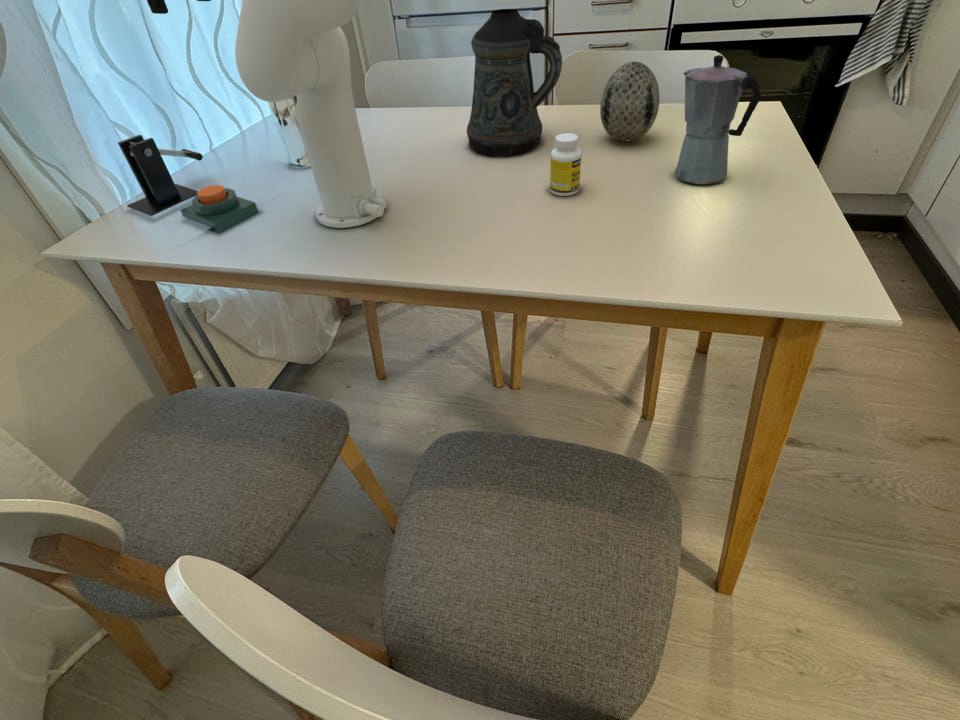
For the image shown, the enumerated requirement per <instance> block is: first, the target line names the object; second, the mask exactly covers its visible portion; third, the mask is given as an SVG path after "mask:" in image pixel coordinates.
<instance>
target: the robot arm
mask: <svg viewBox="0 0 960 720" xmlns="http://www.w3.org/2000/svg"><path fill="white" fill-rule="evenodd" d="M196 1H197V2H211V1H212V0H196ZM146 2H147V5H148V6H149V10H150V12H151V13H152V14H158V15H166V14H168V13H169V9H168V6H167V3H166V0H146ZM361 3H362V0H242V1H241V7H240V12H239V13H240V14H239V18H238V25H237V32H236V38H235V44H234V45H235V47H234V48H235V49H234V57H235V64H236V69H237V72H238V75H239V78H240V80H241V81H242V83H243V85H244V86H245V88H246V89H247V91H249V92H250V94H251V95H253V96H254V97H255V98H257V99H259V100H261V101H263V102H267V103H268V102H279V101H283V100H286V99H289V98H291V97H294V96H296V95H297V117H298V122H299V126H300V130H301V134H302V137H303V141H304V144H305V147H306V151H307V154H308V158H309V161H310V165H311V167H310V169H311V171H312V174H313V179H314V181H315V186H316V188H317V192H318V195H319V198H320V204H319V205H318V207H317V208H316V209H315V216H316V219H317V221H318V223H320V224H321V225H323V226H325V227H328V228H334V229H345V228H347V229H348V228H352V227H358V226H359V227H360V226H362V225H365V224H368V223H370V222H373V221H375V220H376V219H377V218H380V217H382V216H383V215H384V213H385V208H387V206H388V200H386V199H384V198H383V197H382V196H381V195H379V194H378V192H377V187H374V186H373V184H372V180H371V175H370V171H369V166H368V162H367V157H366V152H365V147H364V144H363V143H364V142H363V139H362V134H361V129H360V125H359V119H358V115H357V110H356V105H355V100H354V93H353V87H352V76H351V75H352V73H351V55H350V47H349V43H348V40H347V36H346V33H345V32H344V30H343V29H342V27H343V26H344V25H346V24H348V23H350V22H351V21H352V20H353V19H354V17H355V16H356V14H357V13H358V11H359V8H360V5H361Z"/></svg>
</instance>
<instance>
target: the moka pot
mask: <svg viewBox="0 0 960 720" xmlns="http://www.w3.org/2000/svg"><path fill="white" fill-rule="evenodd" d="M724 58H725V56H724V55H721V54H718V55H715V56H713V66H707V67H697V68H696V67H695V68H690V69H686V71H684V72H683V75H684V76H685V77H684V122H685V123H686V125H685V134H684V138H683V140H682V145H681V149H680V153H679V157H678V161H677V164H676V168H675V177H676V178H677V179H678V180H679V181H681V182H685V183H688V184H693V185H694V184H695V185H707V184H716V183H719V182H722V181H724V180H725V179H726V178H727V175H728V162H729V159H728V157H729V143H730V141H729V140H730V136H733V137H734V136H735V137H741V136H742V135H743V132H744V131H745V128H746V127H747V125H748V122H749V121H750V118H751V117H752V115H753V112H754V111H755V109H756V107H757V106H758V104H759V102H760V99H761V96H762V91H761V89H760V87H761V86H760V85H759V84H758V83H757V79H756V75H748V72H745V71H743V70H741V69H737V68H735V67H729V66H722V64H723V61H724ZM746 89H751V91H752V92H753V95H752V97H751V99H750V101H749V103H748V106H747V108H746V110H745V112H744V113H743V116H742V119H741V122H740V123H739V124H738V126H737V128H736V129H733V128H730V127H731V123H732V122H733V120H734V118H735V115H736V112H737V108H738V106H739V102H740V99H741V96H742V93H743V90H746Z"/></svg>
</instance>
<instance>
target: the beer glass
mask: <svg viewBox="0 0 960 720" xmlns="http://www.w3.org/2000/svg"><path fill="white" fill-rule="evenodd" d="M267 103H268V106H269V110H270V114H271V117H272V121H273V123H274V125H275V127H276V130H277V132H278V134H279V135H280V138H281V140H282V142H283V144H284V146H285V148H286V152H287V157H288V164H289V165H292V166H295V167H299V168H303V169H309V168H311V165H310V161H309V158H308V154H307V151H306V147H305V144H304V141H303V137H302V134H301V130H300V126H299V122H298V117H297V95H296V96H294V97H291V98H289V99H286V100H283V101H279V102H267Z"/></svg>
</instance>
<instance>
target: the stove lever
mask: <svg viewBox="0 0 960 720" xmlns="http://www.w3.org/2000/svg"><path fill="white" fill-rule="evenodd" d="M135 143H137V142H129V146H130V145H132V144H135ZM158 150H159V152H160V154H161V156H170V157H181V158H189V159H192V160H196V161H199V162H200V161H202V160H203V158H204V157H203V154H202V153H200V152H198V151H197V152H196V151H194V150H189V149H187V148H182V149H181V150H177V149H175V150H174V149H165V148H163V149H162V148H158ZM129 151H130V155H131V156H133V154H132V152H131V150H130V148H129Z"/></svg>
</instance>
